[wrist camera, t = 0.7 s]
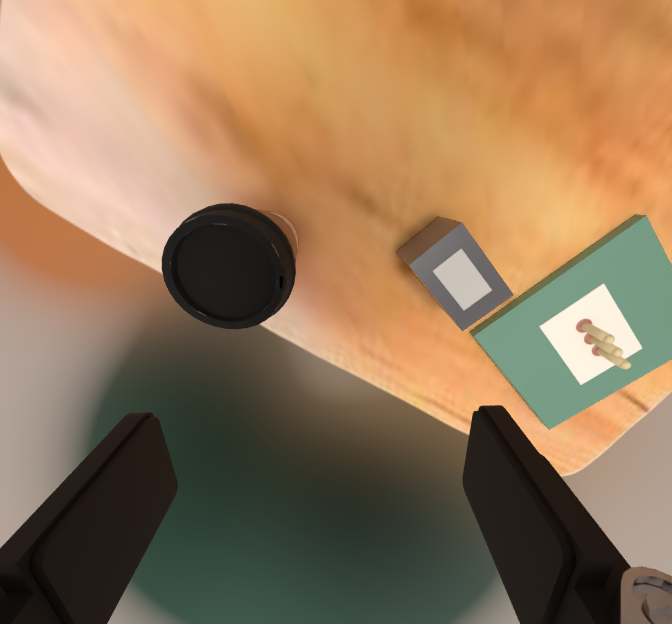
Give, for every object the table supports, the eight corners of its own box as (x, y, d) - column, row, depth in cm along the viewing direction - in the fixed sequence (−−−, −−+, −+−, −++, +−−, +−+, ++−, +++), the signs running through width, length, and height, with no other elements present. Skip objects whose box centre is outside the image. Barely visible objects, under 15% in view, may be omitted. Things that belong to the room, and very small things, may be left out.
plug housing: (438, 216, 32) (462, 222, 26) (482, 276, 34) (514, 295, 28) (395, 252, 33) (409, 265, 27) (441, 307, 36) (462, 331, 30)
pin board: (635, 214, 32) (688, 218, 27) (697, 333, 37) (751, 355, 32) (469, 331, 37) (489, 353, 32) (543, 423, 42) (570, 454, 37)
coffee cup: (308, 282, 35) (288, 343, 21) (232, 275, 34) (160, 333, 20) (312, 202, 32) (293, 212, 18) (229, 195, 31) (142, 198, 17)
